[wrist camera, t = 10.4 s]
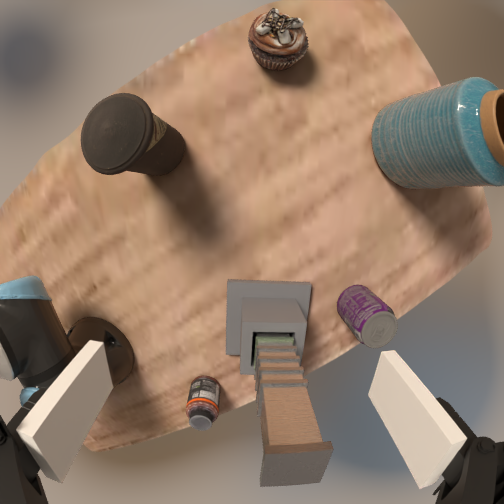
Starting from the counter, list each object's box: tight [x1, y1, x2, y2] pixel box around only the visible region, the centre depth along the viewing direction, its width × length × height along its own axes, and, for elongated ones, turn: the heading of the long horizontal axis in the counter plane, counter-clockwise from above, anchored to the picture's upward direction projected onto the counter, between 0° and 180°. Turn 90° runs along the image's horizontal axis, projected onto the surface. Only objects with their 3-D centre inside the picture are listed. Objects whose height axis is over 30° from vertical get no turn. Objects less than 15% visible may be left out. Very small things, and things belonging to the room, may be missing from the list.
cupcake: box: [248, 8, 308, 70], centre depth 36 cm, size 10×10×10 cm
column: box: [254, 332, 333, 487], centre depth 31 cm, size 6×6×23 cm
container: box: [81, 93, 184, 176], centre depth 35 cm, size 9×9×20 cm
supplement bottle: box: [186, 376, 220, 430], centre depth 49 cm, size 6×6×11 cm
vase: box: [371, 77, 504, 189], centre depth 32 cm, size 16×16×27 cm
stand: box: [226, 279, 311, 375], centre depth 46 cm, size 14×14×12 cm
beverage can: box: [337, 285, 398, 348], centre depth 46 cm, size 7×7×12 cm
